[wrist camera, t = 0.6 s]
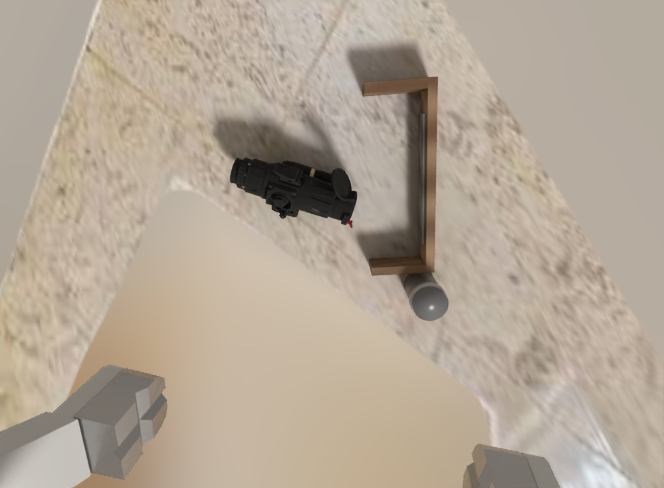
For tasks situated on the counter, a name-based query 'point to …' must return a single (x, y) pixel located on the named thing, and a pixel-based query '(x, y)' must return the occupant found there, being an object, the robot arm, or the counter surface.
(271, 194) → the night vision scope
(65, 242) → the counter surface
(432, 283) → the gray domed cylinder
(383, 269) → the bracket
